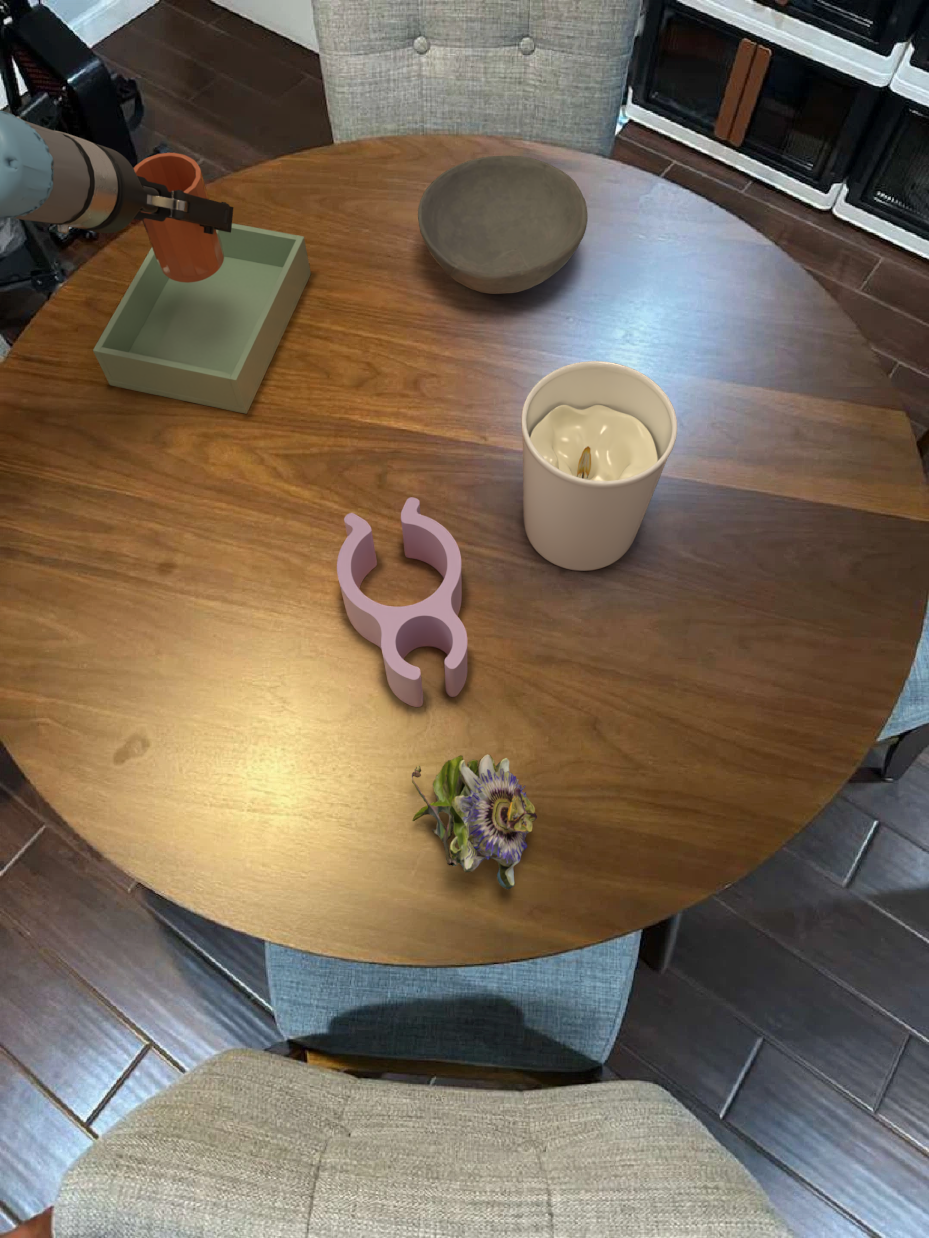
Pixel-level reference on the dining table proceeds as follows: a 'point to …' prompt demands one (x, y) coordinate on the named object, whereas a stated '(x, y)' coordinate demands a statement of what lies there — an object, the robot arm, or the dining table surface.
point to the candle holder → (592, 460)
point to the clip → (415, 622)
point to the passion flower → (481, 814)
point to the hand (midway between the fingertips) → (195, 213)
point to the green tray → (207, 322)
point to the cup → (180, 222)
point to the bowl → (502, 222)
